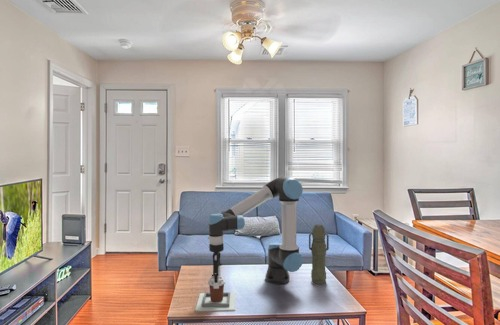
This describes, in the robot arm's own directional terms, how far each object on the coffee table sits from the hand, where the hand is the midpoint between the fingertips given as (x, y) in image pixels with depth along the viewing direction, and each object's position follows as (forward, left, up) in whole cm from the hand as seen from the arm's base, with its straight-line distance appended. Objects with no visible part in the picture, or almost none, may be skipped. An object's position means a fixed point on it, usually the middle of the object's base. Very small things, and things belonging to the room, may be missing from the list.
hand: (217, 283), depth 168 cm
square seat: (0, 0, -10) cm, 10 cm away
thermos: (-61, -25, -10) cm, 66 cm away
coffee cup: (0, 0, -10) cm, 10 cm away
